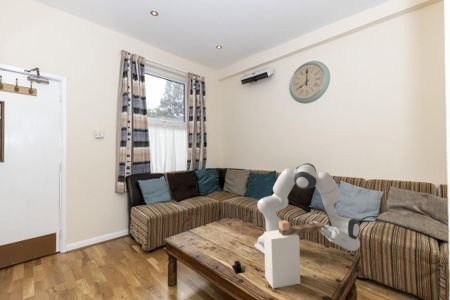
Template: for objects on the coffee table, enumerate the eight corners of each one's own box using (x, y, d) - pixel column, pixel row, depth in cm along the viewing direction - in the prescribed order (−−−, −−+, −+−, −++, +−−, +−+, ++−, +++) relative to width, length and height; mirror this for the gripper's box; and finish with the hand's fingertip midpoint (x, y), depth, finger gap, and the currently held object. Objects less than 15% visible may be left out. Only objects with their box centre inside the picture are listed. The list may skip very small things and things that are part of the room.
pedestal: (272, 288, 110) (271, 239, 110) (265, 277, 120) (263, 231, 120) (300, 283, 114) (299, 235, 113) (290, 272, 124) (289, 228, 123)
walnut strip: (282, 235, 114) (282, 231, 114) (278, 232, 118) (278, 227, 118) (324, 229, 120) (324, 225, 120) (319, 226, 124) (319, 222, 124)
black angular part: (229, 265, 134) (229, 258, 134) (240, 263, 136) (239, 256, 136) (235, 276, 122) (235, 269, 122) (247, 274, 124) (247, 266, 124)
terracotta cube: (282, 230, 114) (282, 223, 114) (279, 228, 118) (278, 221, 118) (289, 229, 115) (289, 222, 115) (285, 227, 119) (285, 220, 119)
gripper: (346, 248, 113) (326, 238, 111) (321, 233, 133) (304, 224, 131) (351, 237, 114) (331, 227, 111) (325, 224, 134) (308, 215, 131)
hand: (316, 225), depth 121 cm, fingers open, 8 cm apart
